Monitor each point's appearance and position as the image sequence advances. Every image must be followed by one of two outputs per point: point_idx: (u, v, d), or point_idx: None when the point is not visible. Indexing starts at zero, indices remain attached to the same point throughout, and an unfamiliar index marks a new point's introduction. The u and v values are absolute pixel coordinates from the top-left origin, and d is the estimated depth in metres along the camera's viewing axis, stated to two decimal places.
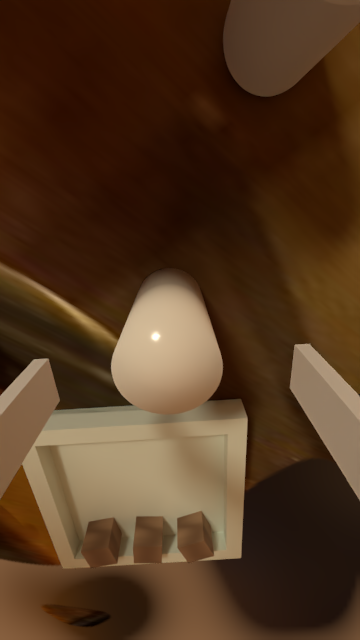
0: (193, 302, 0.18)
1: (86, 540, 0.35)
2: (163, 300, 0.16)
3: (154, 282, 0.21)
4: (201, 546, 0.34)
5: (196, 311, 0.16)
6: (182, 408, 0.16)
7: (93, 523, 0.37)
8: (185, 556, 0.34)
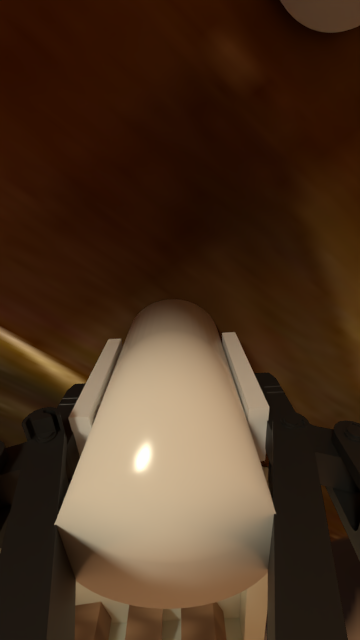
0: (215, 381, 0.10)
1: None
2: (162, 387, 0.09)
3: (149, 329, 0.13)
4: None
5: (223, 410, 0.09)
6: (197, 600, 0.08)
7: (75, 609, 0.29)
8: None
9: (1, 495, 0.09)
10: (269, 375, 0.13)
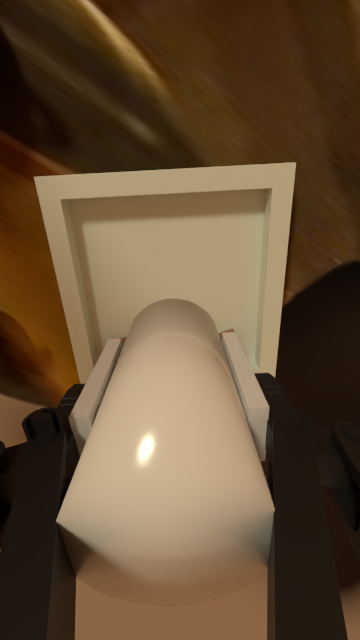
0: (215, 380, 0.10)
1: None
2: (162, 386, 0.09)
3: (149, 329, 0.13)
4: None
5: (223, 408, 0.09)
6: (197, 597, 0.08)
7: None
8: None
9: (1, 495, 0.09)
10: (269, 375, 0.13)
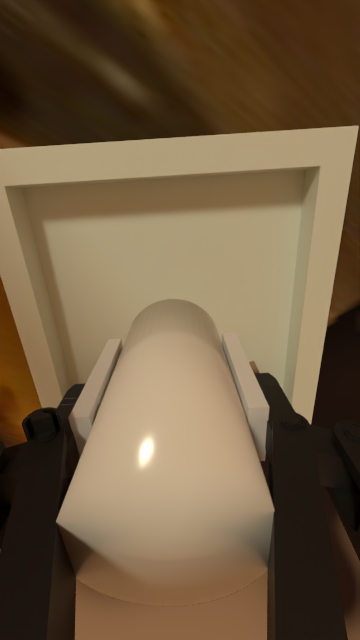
0: (214, 380, 0.10)
1: None
2: (162, 387, 0.09)
3: (149, 329, 0.13)
4: None
5: (223, 409, 0.09)
6: (197, 597, 0.08)
7: None
8: None
9: (1, 495, 0.09)
10: (269, 375, 0.13)
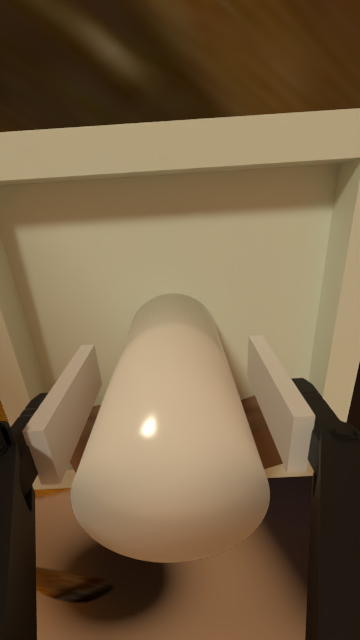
0: (211, 364, 0.11)
1: None
2: (164, 368, 0.10)
3: (151, 320, 0.14)
4: None
5: (219, 387, 0.10)
6: (196, 554, 0.09)
7: None
8: None
9: None
10: (305, 380, 0.12)
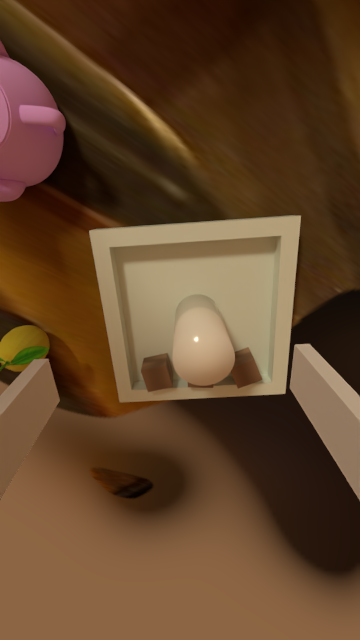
0: (216, 319, 0.29)
1: (144, 365, 0.38)
2: (200, 319, 0.28)
3: (190, 305, 0.33)
4: (251, 367, 0.37)
5: (219, 325, 0.28)
6: (211, 381, 0.27)
7: (148, 358, 0.40)
8: (235, 379, 0.37)
9: None
10: None
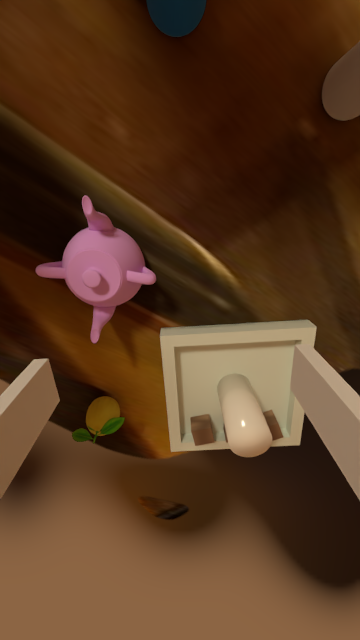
0: (256, 407, 0.41)
1: (192, 425, 0.49)
2: (245, 409, 0.39)
3: (233, 389, 0.44)
4: (275, 428, 0.48)
5: (259, 414, 0.39)
6: (254, 454, 0.39)
7: (194, 417, 0.51)
8: None
9: None
10: None
